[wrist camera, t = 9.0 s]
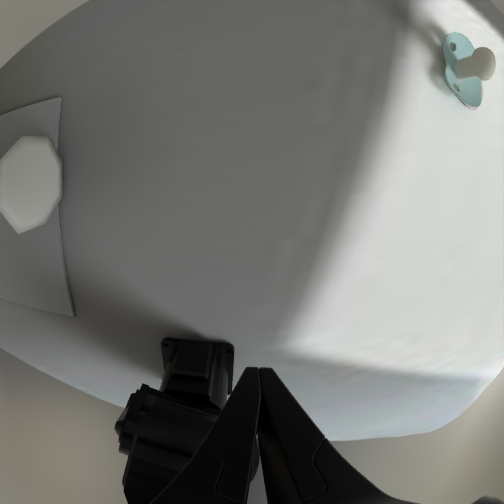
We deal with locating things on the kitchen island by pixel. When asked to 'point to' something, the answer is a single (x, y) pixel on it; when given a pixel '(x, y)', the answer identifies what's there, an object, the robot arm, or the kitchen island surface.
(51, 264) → the mat
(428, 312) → the kitchen island surface
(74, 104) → the kitchen island surface
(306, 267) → the kitchen island surface
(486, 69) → the pacifier
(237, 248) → the kitchen island surface
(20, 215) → the flask
